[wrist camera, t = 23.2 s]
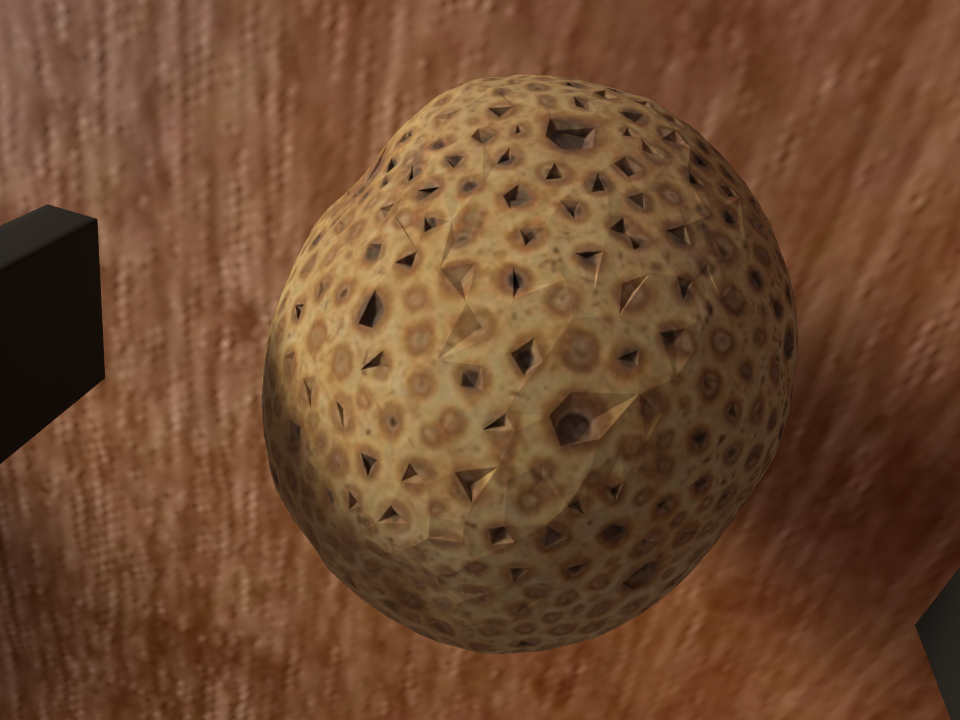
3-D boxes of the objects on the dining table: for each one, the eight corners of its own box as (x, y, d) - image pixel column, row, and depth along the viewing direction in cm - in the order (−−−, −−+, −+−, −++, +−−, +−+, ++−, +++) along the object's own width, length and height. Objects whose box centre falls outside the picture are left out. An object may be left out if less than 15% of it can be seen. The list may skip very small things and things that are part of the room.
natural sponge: (368, 29, 16) (52, 132, 8) (807, 56, 15) (1018, 216, 6) (381, 393, 21) (189, 716, 12) (720, 439, 19) (774, 839, 11)
